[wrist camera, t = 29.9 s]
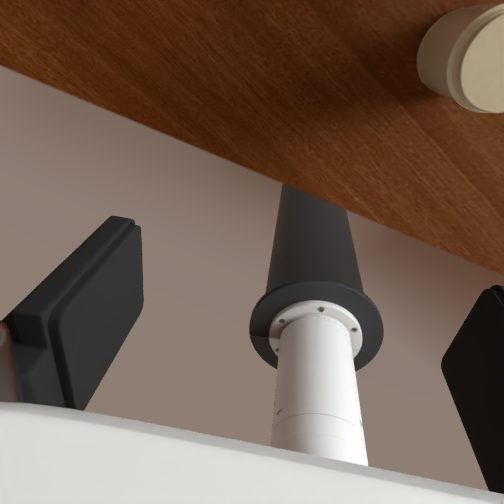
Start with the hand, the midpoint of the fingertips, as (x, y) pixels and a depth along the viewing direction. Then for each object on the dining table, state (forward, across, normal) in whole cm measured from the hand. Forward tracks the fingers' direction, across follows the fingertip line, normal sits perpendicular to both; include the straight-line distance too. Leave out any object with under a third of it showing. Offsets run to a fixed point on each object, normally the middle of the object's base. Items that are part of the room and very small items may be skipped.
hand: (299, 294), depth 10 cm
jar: (+28, -12, -6) cm, 31 cm away
